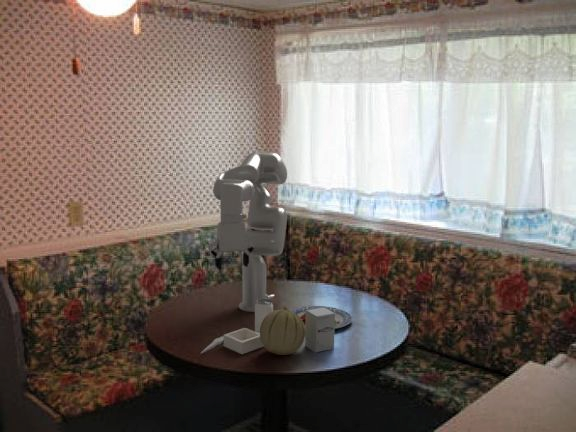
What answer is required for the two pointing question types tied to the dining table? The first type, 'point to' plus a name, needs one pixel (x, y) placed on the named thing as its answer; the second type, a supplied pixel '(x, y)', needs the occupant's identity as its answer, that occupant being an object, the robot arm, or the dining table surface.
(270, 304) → the can
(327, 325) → the supplement box
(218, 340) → the white long tapered piece
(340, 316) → the ceramic plate
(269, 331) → the cantaloupe
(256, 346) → the can holder
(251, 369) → the dining table surface
